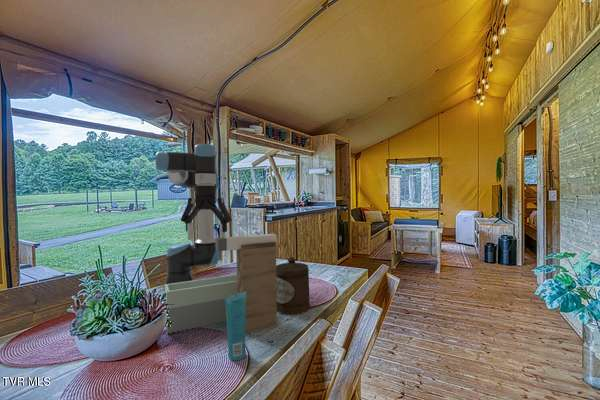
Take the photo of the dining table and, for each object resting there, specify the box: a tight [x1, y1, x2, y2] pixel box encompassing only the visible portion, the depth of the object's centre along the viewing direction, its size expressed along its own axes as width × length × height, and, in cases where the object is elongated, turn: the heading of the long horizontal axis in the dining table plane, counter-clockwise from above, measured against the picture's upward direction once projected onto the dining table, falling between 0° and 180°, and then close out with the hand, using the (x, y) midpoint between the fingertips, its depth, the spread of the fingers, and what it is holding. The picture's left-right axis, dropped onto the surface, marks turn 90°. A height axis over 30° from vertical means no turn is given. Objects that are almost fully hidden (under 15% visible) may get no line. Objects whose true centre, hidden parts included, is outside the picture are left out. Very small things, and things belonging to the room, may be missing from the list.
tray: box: [164, 273, 237, 335], centre depth 114 cm, size 10×31×15 cm, turn 119°
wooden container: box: [276, 256, 310, 316], centre depth 125 cm, size 15×15×22 cm
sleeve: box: [214, 233, 278, 252], centre depth 106 cm, size 4×22×4 cm, turn 119°
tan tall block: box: [236, 242, 278, 335], centre depth 108 cm, size 7×13×32 cm, turn 119°
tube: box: [225, 291, 246, 361], centre depth 88 cm, size 7×5×19 cm, turn 140°
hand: (206, 240), depth 111 cm, fingers open, 13 cm apart
